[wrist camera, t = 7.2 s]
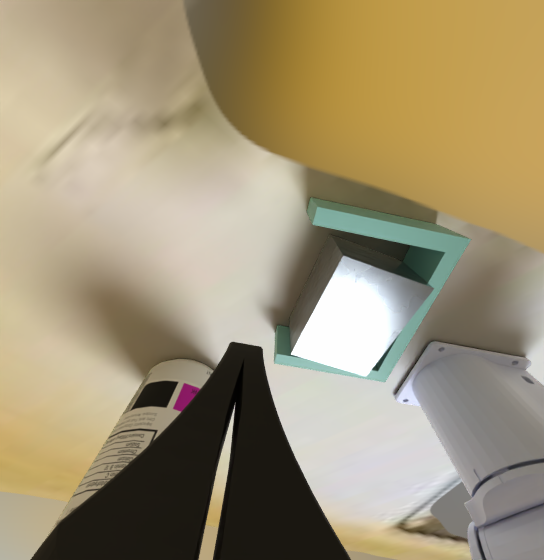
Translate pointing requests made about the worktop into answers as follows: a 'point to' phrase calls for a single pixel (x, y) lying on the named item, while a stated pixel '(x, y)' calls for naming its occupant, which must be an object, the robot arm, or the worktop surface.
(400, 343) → the dock
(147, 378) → the supplement can
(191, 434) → the robot arm
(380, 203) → the worktop surface
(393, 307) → the block
